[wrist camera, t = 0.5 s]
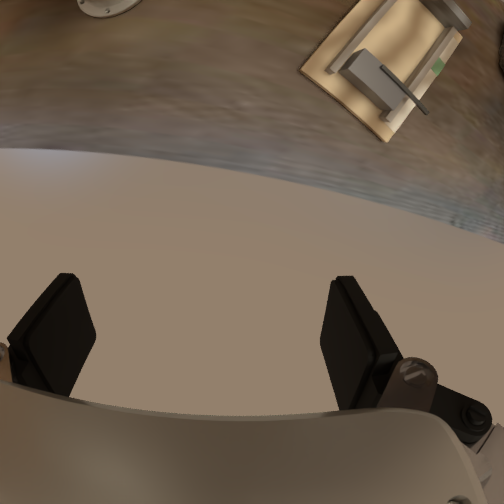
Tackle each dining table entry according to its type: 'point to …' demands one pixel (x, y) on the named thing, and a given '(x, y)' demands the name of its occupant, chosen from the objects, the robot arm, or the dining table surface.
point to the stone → (502, 54)
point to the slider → (376, 81)
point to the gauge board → (388, 53)
